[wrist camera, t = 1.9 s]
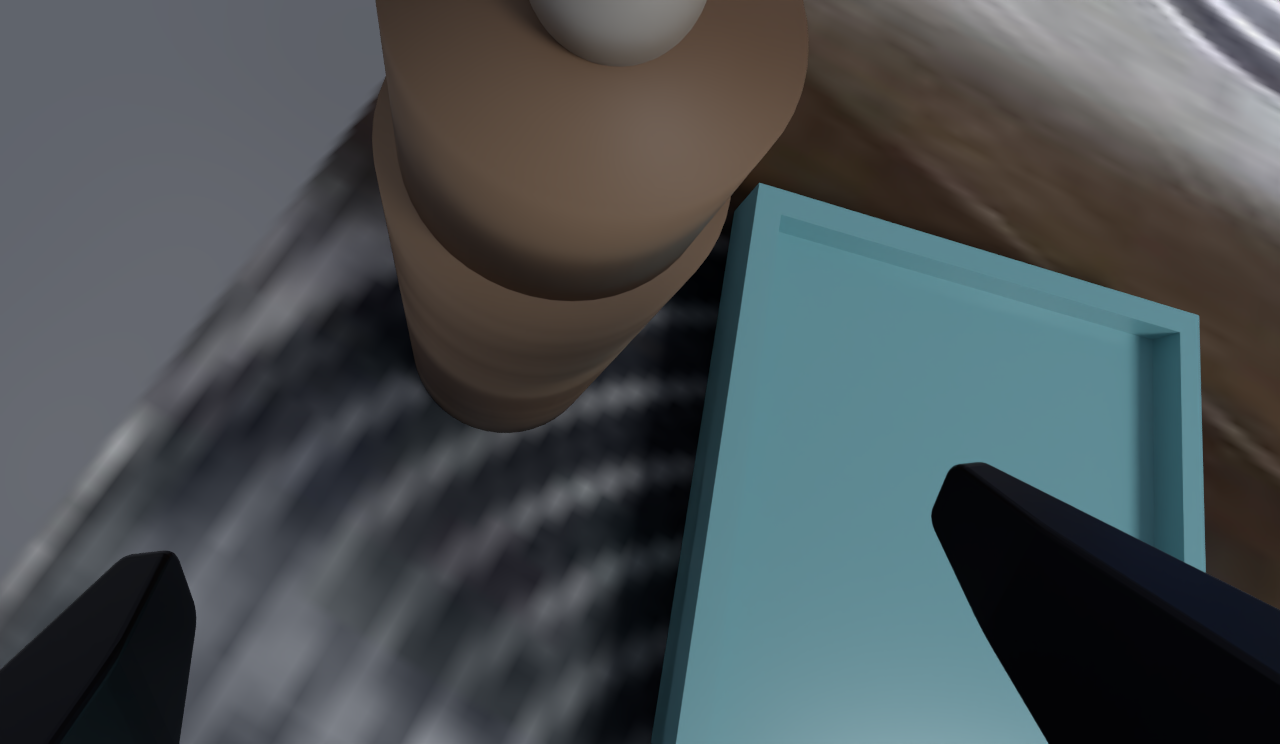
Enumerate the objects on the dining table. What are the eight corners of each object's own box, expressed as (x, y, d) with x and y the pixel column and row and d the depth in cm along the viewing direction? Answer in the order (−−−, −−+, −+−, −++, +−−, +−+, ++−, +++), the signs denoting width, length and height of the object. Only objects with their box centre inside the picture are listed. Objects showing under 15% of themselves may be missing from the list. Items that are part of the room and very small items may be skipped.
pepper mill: (575, 449, 20) (885, 238, 6) (391, 410, 19) (216, 37, 5) (607, 284, 22) (931, -227, 7) (438, 240, 21) (409, -460, 6)
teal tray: (1148, 897, 22) (1214, 931, 20) (634, 842, 19) (655, 877, 17) (1145, 331, 26) (1198, 315, 24) (734, 211, 23) (759, 182, 21)
